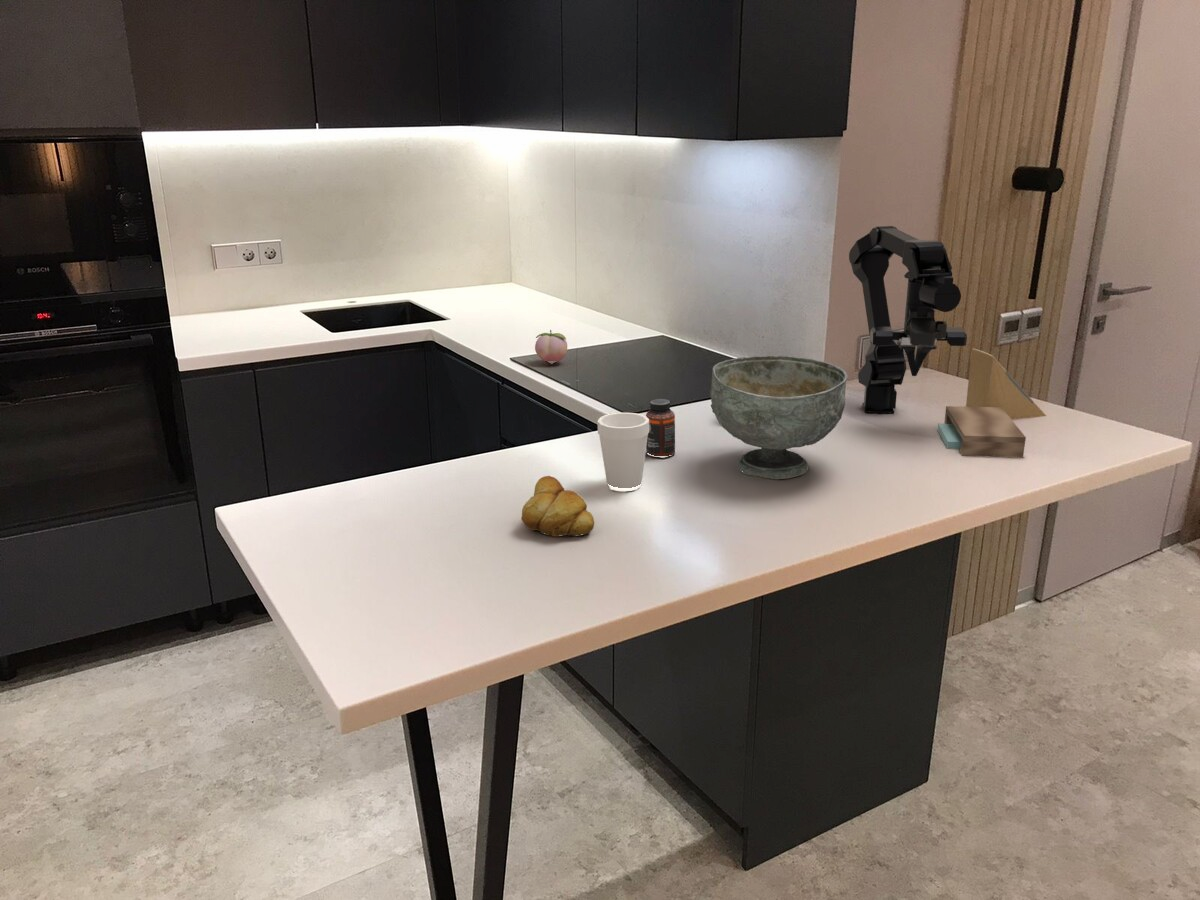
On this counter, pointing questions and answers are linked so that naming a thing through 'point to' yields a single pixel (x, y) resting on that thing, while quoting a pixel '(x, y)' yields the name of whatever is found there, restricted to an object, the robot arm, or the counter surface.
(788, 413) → the decorative bowl
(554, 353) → the decorative fruit
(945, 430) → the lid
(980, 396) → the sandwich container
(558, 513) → the bread roll
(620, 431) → the foam cup
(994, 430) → the low shelf
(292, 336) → the counter surface
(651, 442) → the supplement bottle
